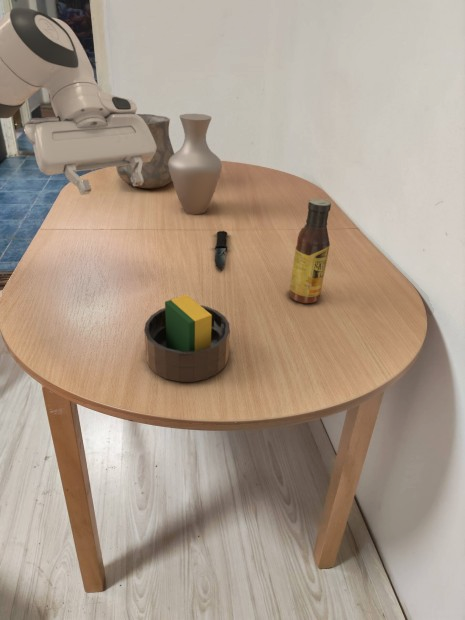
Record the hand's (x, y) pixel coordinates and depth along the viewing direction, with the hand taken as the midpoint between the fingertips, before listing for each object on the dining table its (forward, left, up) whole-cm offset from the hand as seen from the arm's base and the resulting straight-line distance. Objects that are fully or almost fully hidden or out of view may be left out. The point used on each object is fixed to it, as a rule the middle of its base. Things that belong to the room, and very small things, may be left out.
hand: (113, 188), depth 76 cm
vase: (+39, +31, -22) cm, 55 cm away
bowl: (0, -22, -22) cm, 31 cm away
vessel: (+39, +58, -22) cm, 73 cm away
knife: (+28, +5, -22) cm, 36 cm away
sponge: (0, -22, -21) cm, 31 cm away
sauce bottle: (+30, -20, -22) cm, 42 cm away
